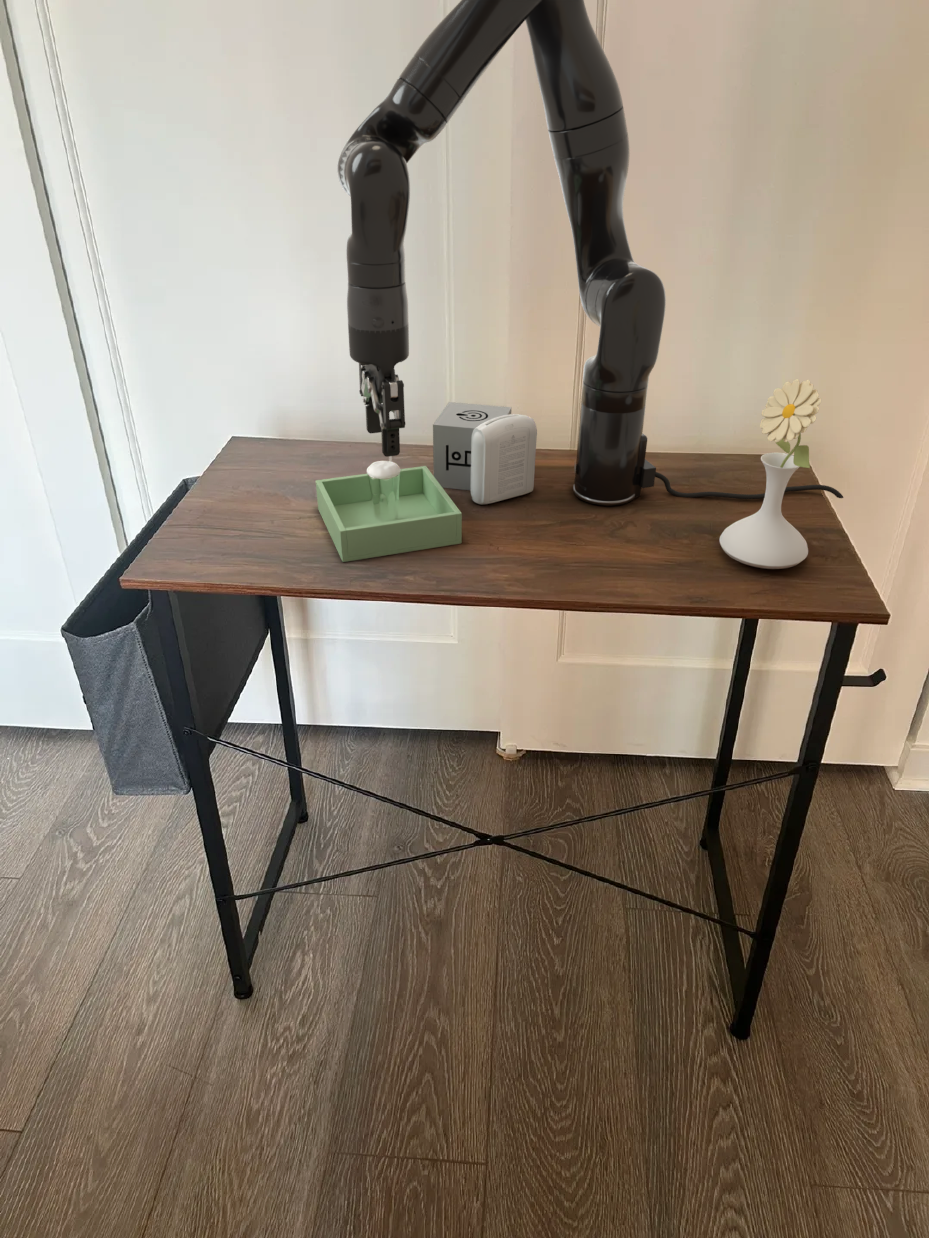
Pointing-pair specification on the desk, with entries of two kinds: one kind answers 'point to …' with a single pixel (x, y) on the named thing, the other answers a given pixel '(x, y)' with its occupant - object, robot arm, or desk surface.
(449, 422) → the icon cube
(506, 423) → the photo printer
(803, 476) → the desk surface
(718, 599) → the desk surface
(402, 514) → the tote
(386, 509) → the milkshake
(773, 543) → the flower in vase
